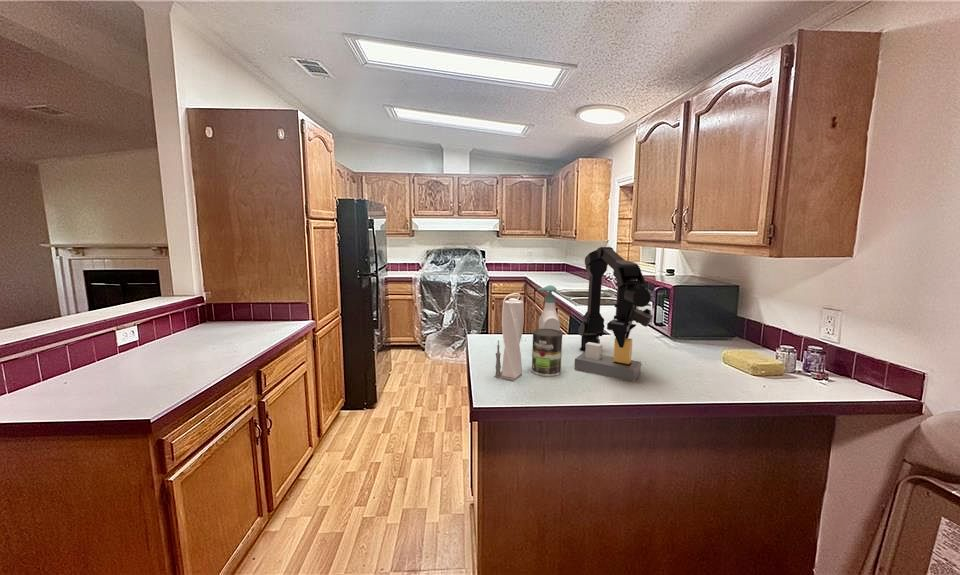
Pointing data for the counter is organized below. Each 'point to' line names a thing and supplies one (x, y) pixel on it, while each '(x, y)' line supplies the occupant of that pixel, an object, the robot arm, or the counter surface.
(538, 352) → the coffee can
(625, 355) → the amber plug
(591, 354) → the white rectangular block
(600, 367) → the block
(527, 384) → the counter surface
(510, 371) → the skyscraper
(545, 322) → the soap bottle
